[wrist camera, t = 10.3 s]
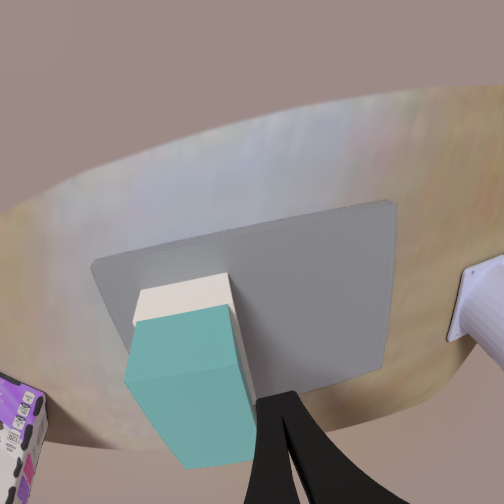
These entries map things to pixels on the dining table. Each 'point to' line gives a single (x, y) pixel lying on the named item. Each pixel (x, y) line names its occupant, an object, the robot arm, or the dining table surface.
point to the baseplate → (273, 292)
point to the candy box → (20, 438)
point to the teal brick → (194, 386)
